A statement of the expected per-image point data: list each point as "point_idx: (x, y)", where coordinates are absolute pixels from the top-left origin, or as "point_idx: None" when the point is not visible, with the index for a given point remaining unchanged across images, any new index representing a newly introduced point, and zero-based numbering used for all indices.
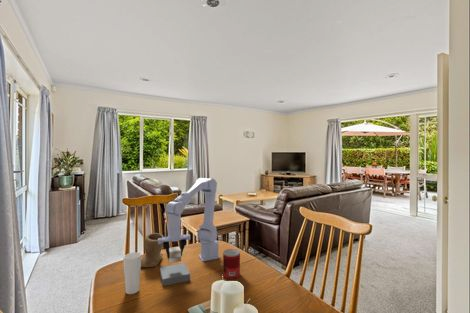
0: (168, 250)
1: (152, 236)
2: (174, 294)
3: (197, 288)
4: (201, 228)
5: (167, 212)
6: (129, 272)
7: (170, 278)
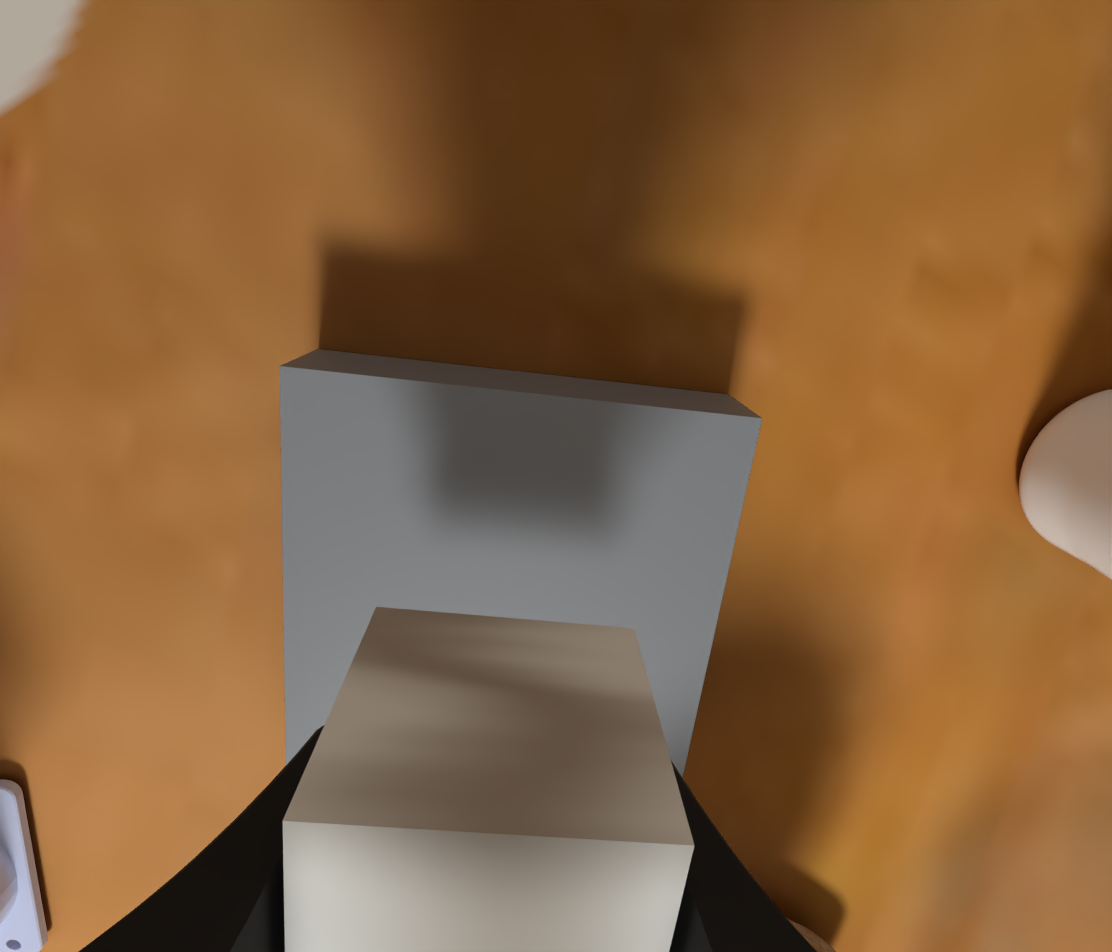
0: (732, 936)
1: None
2: (649, 64)
3: (260, 33)
4: None
5: None
6: None
7: (633, 401)
